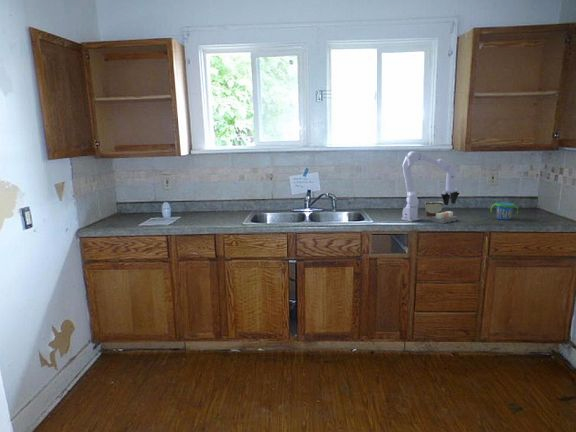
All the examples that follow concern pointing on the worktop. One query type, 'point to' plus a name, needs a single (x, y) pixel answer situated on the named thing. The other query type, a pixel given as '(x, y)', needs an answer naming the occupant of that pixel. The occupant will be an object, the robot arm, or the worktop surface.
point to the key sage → (439, 215)
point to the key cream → (450, 214)
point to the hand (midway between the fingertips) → (449, 204)
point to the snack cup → (504, 210)
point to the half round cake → (433, 208)
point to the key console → (444, 219)
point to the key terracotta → (445, 214)
